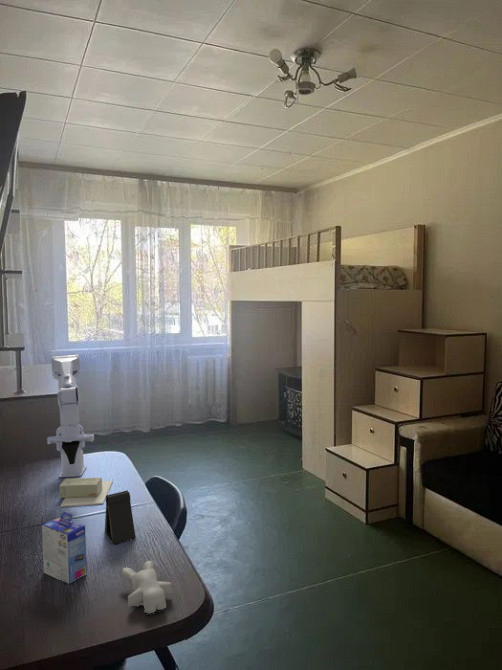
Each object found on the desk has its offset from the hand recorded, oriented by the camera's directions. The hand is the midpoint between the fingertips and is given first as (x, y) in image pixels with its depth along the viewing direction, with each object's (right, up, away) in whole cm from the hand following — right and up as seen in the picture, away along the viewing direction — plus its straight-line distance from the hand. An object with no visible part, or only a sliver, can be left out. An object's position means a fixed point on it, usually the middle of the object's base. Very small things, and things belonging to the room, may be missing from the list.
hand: (72, 463), depth 163 cm
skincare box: (-3, -8, -1) cm, 9 cm away
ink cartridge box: (+15, -15, -46) cm, 50 cm away
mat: (+5, -10, 0) cm, 12 cm away
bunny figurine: (+37, -15, -55) cm, 68 cm away
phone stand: (+23, -13, -28) cm, 39 cm away
